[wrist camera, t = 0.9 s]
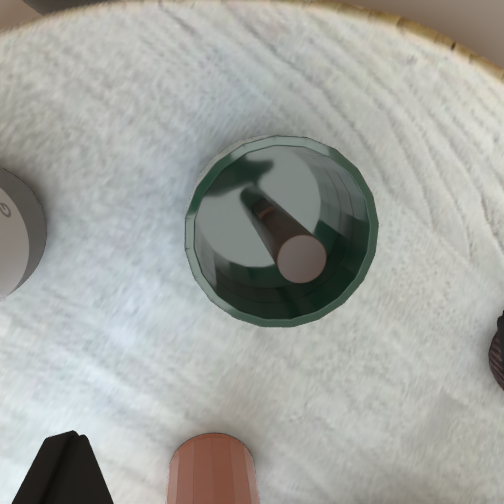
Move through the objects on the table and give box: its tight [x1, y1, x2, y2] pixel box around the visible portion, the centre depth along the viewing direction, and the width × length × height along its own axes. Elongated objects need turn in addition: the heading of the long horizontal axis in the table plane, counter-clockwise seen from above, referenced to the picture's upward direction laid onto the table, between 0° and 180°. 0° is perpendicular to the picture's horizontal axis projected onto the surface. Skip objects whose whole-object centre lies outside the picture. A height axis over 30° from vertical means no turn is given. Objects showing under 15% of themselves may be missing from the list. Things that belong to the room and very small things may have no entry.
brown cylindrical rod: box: [252, 197, 327, 283], centre depth 30 cm, size 3×3×12 cm
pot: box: [185, 135, 379, 327], centre depth 33 cm, size 12×12×7 cm
